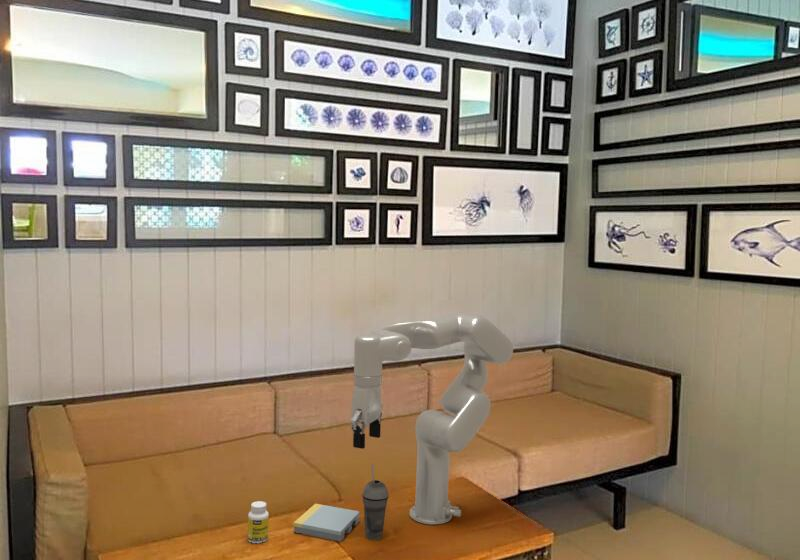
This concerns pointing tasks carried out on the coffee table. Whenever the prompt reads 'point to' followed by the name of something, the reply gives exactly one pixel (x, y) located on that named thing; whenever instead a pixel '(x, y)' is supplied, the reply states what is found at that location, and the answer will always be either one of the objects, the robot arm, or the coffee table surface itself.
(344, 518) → the plate
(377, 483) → the beverage cup
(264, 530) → the supplement bottle
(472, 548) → the coffee table surface
